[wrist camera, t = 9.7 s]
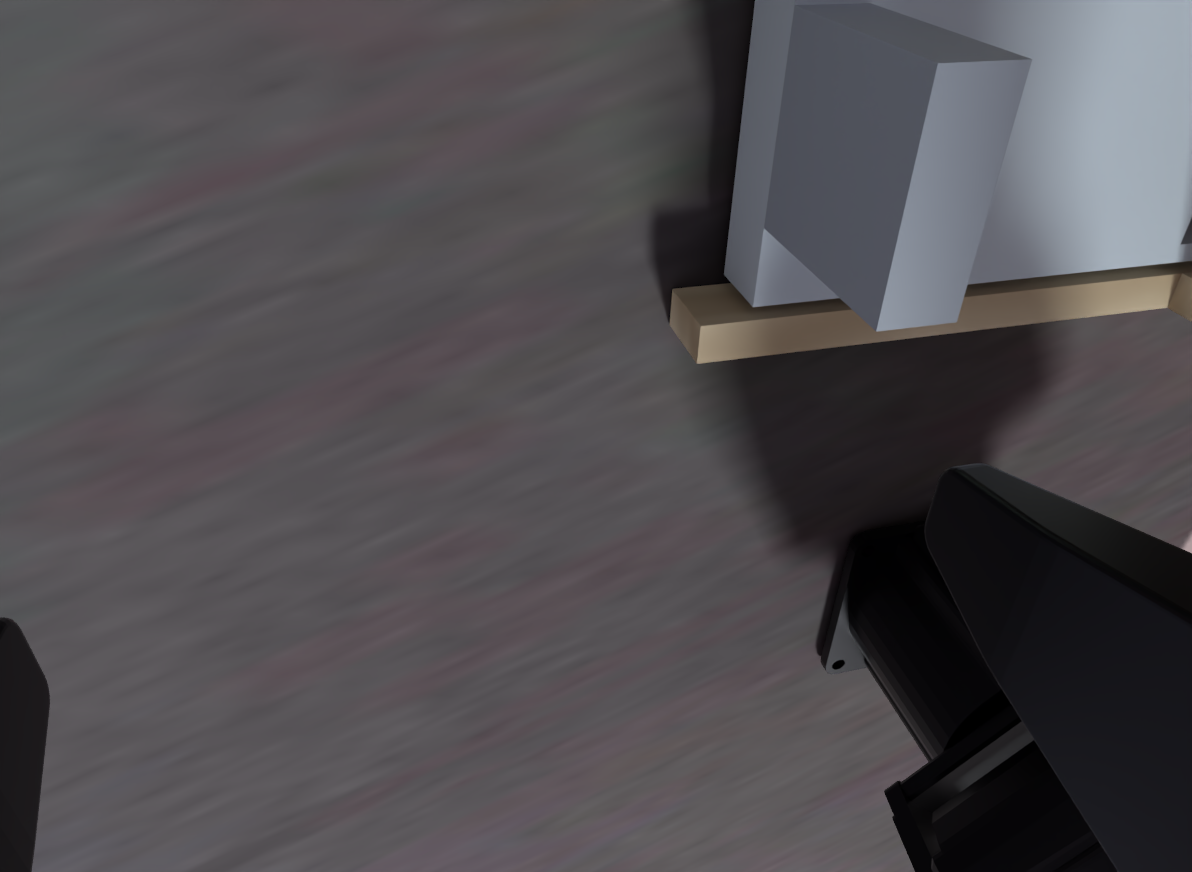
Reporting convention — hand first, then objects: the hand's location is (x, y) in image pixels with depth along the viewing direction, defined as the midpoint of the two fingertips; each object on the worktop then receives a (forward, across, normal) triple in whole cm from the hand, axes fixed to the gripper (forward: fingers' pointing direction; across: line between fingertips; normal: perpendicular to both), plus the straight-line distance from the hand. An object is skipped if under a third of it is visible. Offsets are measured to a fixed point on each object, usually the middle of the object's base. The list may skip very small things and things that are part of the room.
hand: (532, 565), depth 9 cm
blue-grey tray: (+12, -17, -1) cm, 21 cm away
